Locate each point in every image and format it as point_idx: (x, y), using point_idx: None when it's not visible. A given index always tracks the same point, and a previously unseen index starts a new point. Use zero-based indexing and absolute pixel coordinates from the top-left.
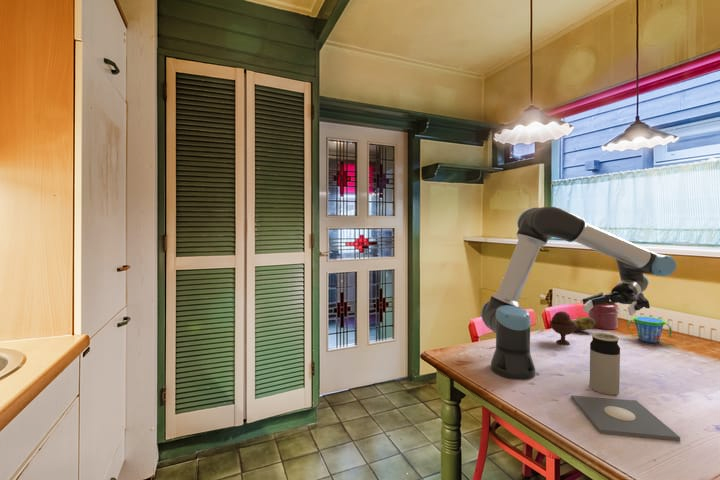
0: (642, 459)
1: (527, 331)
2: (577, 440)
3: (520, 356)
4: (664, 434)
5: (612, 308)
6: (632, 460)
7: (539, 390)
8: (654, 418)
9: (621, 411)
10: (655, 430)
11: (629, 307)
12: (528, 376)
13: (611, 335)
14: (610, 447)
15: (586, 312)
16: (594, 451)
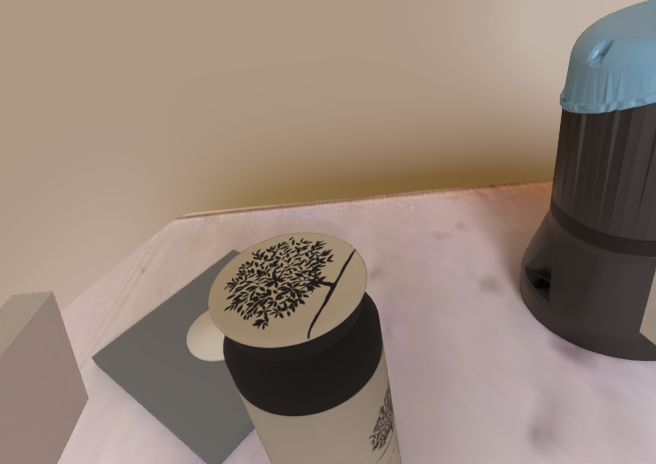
0: (159, 257)
1: (570, 127)
2: (254, 217)
3: (549, 210)
4: (123, 337)
5: None
6: (171, 244)
7: (438, 275)
8: (146, 389)
9: (222, 339)
10: (141, 336)
11: (23, 299)
12: (521, 284)
13: (264, 319)
14: (207, 242)
15: (642, 325)
16: (223, 218)
